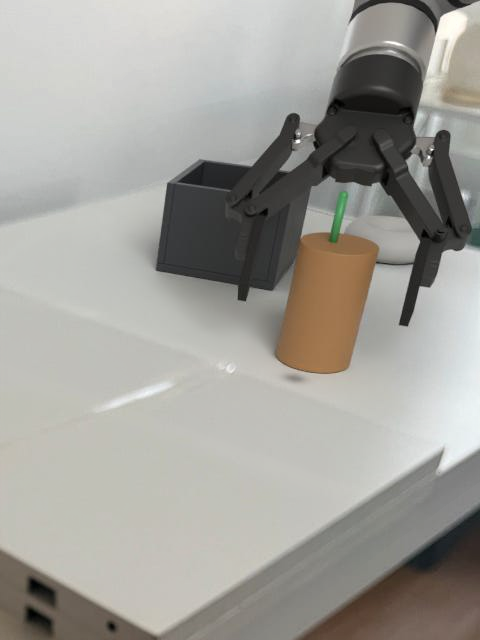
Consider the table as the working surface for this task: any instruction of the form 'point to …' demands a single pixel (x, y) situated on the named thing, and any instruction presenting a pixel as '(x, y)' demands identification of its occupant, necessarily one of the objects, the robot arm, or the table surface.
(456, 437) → the table surface
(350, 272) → the paper cup
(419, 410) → the table surface
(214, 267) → the bin
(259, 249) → the robot arm
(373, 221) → the donut
